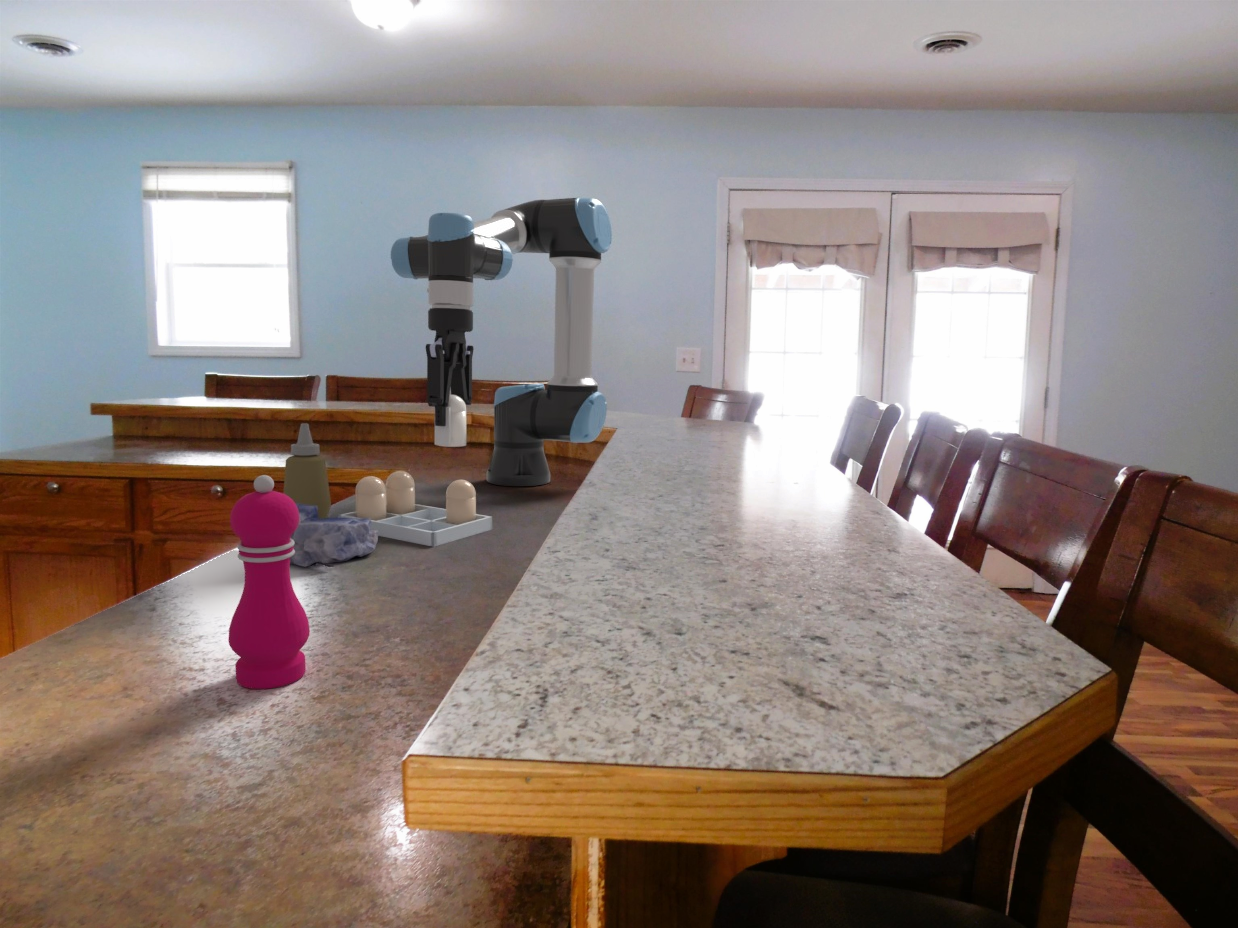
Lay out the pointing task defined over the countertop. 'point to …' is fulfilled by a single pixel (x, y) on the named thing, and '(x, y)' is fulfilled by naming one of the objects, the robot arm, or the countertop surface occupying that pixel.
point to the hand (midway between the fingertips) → (450, 443)
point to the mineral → (330, 538)
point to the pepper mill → (267, 591)
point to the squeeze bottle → (307, 474)
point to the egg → (457, 421)
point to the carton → (426, 526)
